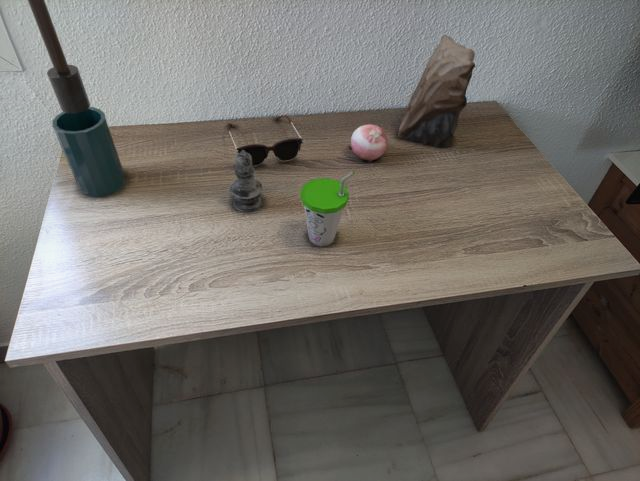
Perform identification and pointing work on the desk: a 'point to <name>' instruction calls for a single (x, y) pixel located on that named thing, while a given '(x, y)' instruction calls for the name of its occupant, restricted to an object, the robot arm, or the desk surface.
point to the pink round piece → (368, 142)
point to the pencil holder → (90, 151)
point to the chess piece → (246, 185)
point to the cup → (324, 208)
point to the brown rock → (439, 95)
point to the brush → (60, 64)
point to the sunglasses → (272, 148)
